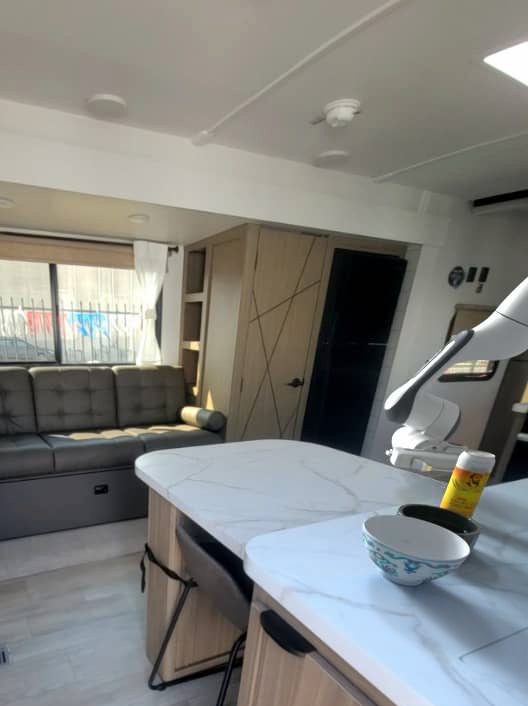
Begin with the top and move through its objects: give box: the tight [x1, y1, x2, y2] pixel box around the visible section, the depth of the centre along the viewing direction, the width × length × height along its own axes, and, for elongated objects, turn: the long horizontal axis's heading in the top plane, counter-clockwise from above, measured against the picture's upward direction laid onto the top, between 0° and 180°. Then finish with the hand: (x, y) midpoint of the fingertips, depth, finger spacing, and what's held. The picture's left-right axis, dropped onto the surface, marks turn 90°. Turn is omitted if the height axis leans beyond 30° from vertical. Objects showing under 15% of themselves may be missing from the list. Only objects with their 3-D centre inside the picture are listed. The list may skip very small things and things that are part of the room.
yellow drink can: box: [439, 449, 496, 519], centre depth 88 cm, size 6×6×15 cm
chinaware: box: [362, 514, 470, 587], centre depth 68 cm, size 15×15×8 cm
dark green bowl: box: [395, 503, 483, 560], centre depth 79 cm, size 13×13×6 cm
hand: (449, 470), depth 95 cm, fingers open, 8 cm apart
